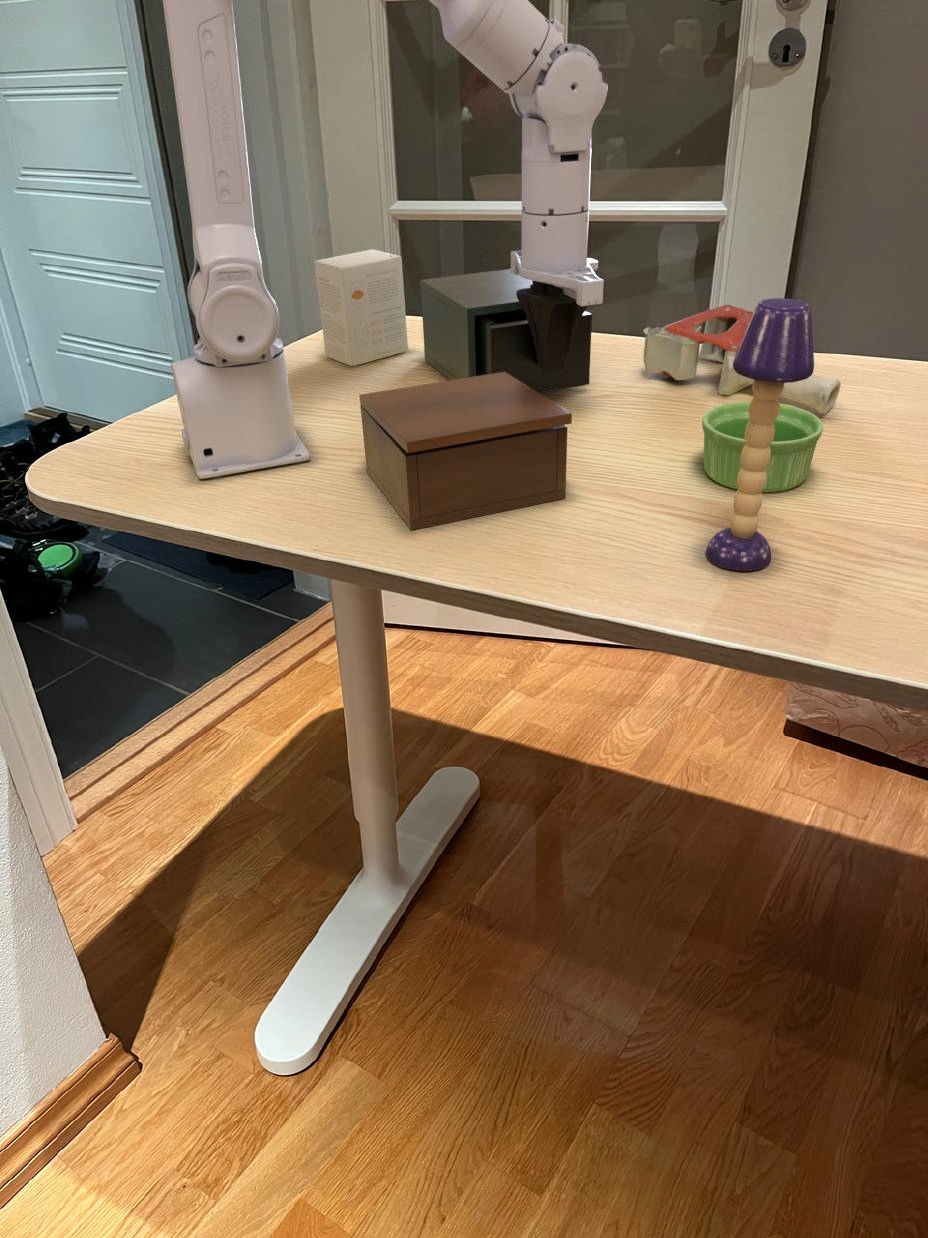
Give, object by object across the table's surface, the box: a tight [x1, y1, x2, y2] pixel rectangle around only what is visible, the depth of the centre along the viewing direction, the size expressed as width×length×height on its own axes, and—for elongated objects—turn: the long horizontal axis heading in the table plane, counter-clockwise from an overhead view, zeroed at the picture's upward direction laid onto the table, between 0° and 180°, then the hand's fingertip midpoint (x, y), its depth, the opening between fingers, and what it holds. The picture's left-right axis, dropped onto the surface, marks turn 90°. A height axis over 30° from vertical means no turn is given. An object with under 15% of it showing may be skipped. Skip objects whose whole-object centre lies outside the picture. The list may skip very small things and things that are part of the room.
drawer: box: [474, 309, 593, 394], centre depth 90 cm, size 14×10×7 cm
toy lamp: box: [705, 297, 815, 572], centre depth 57 cm, size 5×5×17 cm
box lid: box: [358, 372, 573, 453], centre depth 69 cm, size 12×13×1 cm
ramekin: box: [701, 400, 824, 493], centre depth 71 cm, size 9×9×4 cm
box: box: [359, 404, 568, 531], centre depth 71 cm, size 12×13×6 cm
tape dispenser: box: [643, 304, 842, 415], centre depth 89 cm, size 18×5×20 cm
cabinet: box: [419, 268, 533, 381], centre depth 95 cm, size 14×12×9 cm
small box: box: [314, 248, 409, 367], centre depth 100 cm, size 8×6×10 cm
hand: (552, 368), depth 84 cm, fingers closed
